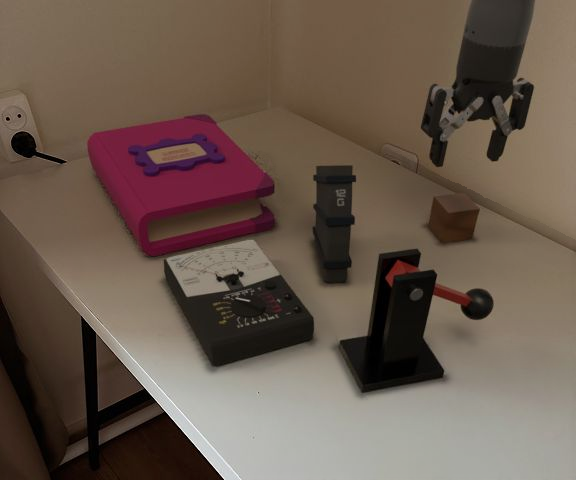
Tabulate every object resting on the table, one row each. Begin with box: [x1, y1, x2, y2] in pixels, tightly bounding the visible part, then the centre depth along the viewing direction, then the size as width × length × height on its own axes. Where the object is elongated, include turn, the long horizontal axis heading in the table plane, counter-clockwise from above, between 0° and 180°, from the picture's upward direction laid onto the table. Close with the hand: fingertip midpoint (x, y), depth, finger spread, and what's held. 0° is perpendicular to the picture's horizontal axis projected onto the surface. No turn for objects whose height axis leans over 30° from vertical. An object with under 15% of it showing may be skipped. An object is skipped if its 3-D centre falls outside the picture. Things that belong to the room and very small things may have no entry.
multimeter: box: [163, 239, 315, 366], centre depth 80 cm, size 13×19×5 cm
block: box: [427, 192, 481, 244], centre depth 95 cm, size 5×5×5 cm
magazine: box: [311, 164, 357, 284], centre depth 86 cm, size 4×13×15 cm, turn 6°
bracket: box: [338, 248, 445, 394], centre depth 70 cm, size 10×8×14 cm
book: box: [86, 113, 276, 257], centre depth 99 cm, size 21×28×8 cm
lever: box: [385, 260, 495, 321], centre depth 70 cm, size 14×4×4 cm, turn 105°
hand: (464, 161), depth 88 cm, fingers open, 8 cm apart
